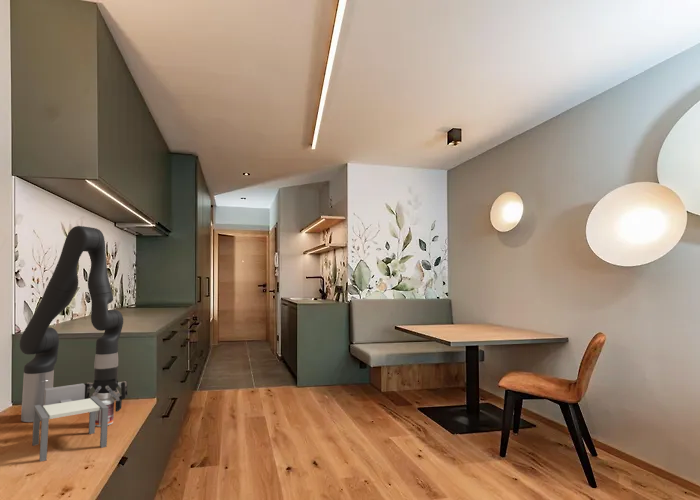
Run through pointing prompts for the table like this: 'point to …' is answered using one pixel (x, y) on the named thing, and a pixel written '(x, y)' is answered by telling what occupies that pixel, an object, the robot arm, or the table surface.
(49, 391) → the trapdoor
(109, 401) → the pill bottle
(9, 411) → the table surface
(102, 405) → the stand
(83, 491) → the table surface
